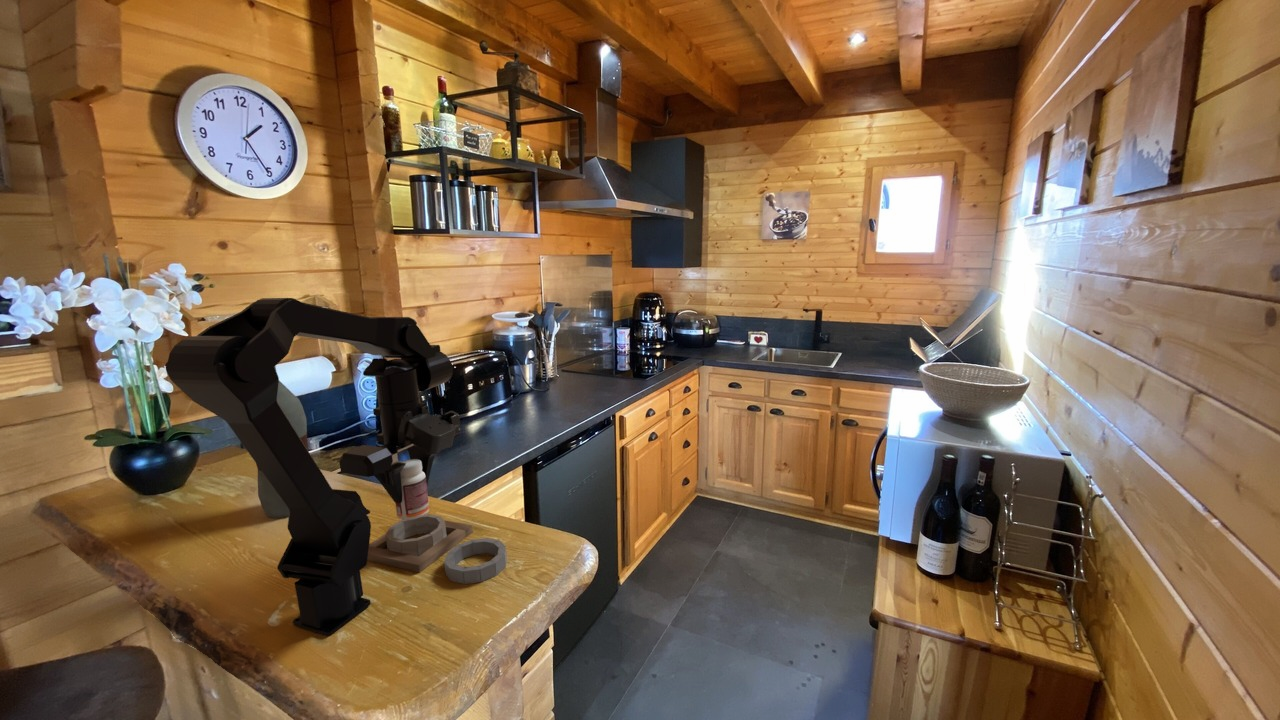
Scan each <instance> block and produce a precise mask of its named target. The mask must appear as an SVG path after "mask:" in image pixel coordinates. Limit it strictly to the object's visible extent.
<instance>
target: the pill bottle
mask: <svg viewBox="0 0 1280 720" xmlns="http://www.w3.org/2000/svg"><path fill="white" fill-rule="evenodd" d="M399 462H400V463H406V464H405V466H404V467H403V469H402V470H401V472H400V475H401V486H402V502H401V503H395V502H394V503H395V510H396V511H395V512H396V516H397V518H398V519H400V520H412V519H417V518H420V517H422V516H424V515H426V514H429V511H430V502H429V496H428V494H429V493H428V484H427V485H426V475H425V473H424V472H423V471H422V462H421V460H418V459H410V458H409V459H404V460H400V461H399Z"/></svg>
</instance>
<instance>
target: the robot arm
mask: <svg viewBox="0 0 1280 720" xmlns="http://www.w3.org/2000/svg"><path fill="white" fill-rule="evenodd" d="M296 336H297V337H298V336H299V337H303V338H304V337H305V338H311V339H317V340H325V341H331V342H337V343H338V342H339V343H344V344H349V345H351V346H353V347H354V348H355V349H356V350H358V351H361V352H363V353H366V354H369V355H371V356H381V357H382V358H376V357H375V358H374V357H373V358H372V360H371V362H370V363H369V365H367V367H365V369H364V370H363V372H362V375H363V376H364V377H374V378H375V384H376V392H377V393H376V394H377V400H378V401H377V402H378V407H374V408H373V409H372V410H373V416H377V417H380V423H381V424H380V425H381V431H382V432H380V433H378V434H376V441H377V442H378V443H379V442H380V443H383V445H381V446H375V445H365V444H362V445H360V446H358V447H355V448H353V449H350V450H347V451H345V452H343V453H342V454H341V456H340V457H339V469H340V473H341V474H347V475H355V476H360V477H366V478H367V477H375V478H376V480H377V481H378V482H379V483H380V484H381V486H382V487H383V488H384V489H385V491H386V492H387V494H388V495H389V496H390V498H391V499H392V501H393V502H394V503H401V502H402V486H401V475H400V472H401V470H402V469H403V467H404V466H405V464H406V463H400V461H399V456H398V455H399V453H402V452H403V451H406V450H407V452H408V456H409V459H418V460H421V462H422V471H423V472H424V473H425V475H426V485H427V486H428V484H429V481H430V475H431V471H432V466H433V463H434V461H435V459H436V458H435V457H436V455H437V454H439V453H440V452H441V451H444V450H446V449H447V448H448V449H449V448H451V447H452V446H453V442H454V438H457V437H458V436H460V434H461V432H462V429H461V426H462V425H461V419H460V414H459V413H458V412H456V411H454V410H450V411H447V412H444V413H443V414H442V415H440V414H437V415H431V412H430V410H429V409H430V408H429V406H428V405H427V402H421V397H420V393H421V392H425V391H427V390H430V389H432V388H435V387H438V386H440V385H442V384H445V383H447V382H449V380H451V378H452V377H453V374H454V366H453V365H454V364H453V363H452V361H451V360H450V358H449V356H447V355H446V354H445V353H444V352H442V351H441V346H440V345H439V344H430V343H429V341H428V339H427V338H426V336H425V335H424V333H423V332H422V330H421V328H419V326H418V323H417V321H416V320H415V318H412V317H410V316H370V317H369V316H365V315H361V314H356V313H352V312H347V311H343V310H339V309H333V308H328V307H325V306H319V305H316V304H311V303H307V302H306V303H305V302H302V301H300V300H299V299H296V298H293V297H268V298H267V297H265V298H263V297H262V298H260V299H257V300H255V301H254V302H251V303H250V304H249V305H248V306H245V308H244V309H242V310H241V311H239V312H238V313H236V314H233V315H231V316H228V317H227V318H225V319H222V320H221V321H219V322H217V323H214V324H213V325H210V326H209V327H207V328H205V329H204V330H202V331H201V332H199V333H198V334H197V335H195V336H194V335H193V336H189V337H186V338H183V339H181V340H180V341H178V342H177V343H176V344H174V346H173V347H172V349H171V351H170V352H169V355H168V358H167V361H166V363H165V371H166V373H167V375H168V377H169V379H170V381H171V382H172V383H173V384H174V385H176V387H177V388H179V390H180V391H182V392H183V393H184V394H185V395H186V396H187V397H188V398H189V399H190V400H192V401H193V403H196V404H197V405H199V406H200V407H202V408H204V409H205V410H207V411H208V412H211V413H212V414H214V415H216V416H217V417H219V418H220V419H222V420H224V421H225V422H226V423H227V424H228V426H229V427H230V429H231V430H232V431H233V433H234V434H235V436H236V438H237V439H238V440H239V442H241V445H242V446H243V447H244V448H245V450H246V451H247V452H248V454H249V455H250V457H251V458H252V459H253V461H254V463H255V464H257V465H258V466H259V468H260V469H261V471H262V472H263V473H264V475H265V476H266V478H267V479H268V480H269V482H270V483H271V485H272V486H273V487H274V489H275V490H276V492H277V493H278V494H279V496H280V497H281V498H282V500H283V501H284V503H285V504H286V505H287V507H288V508H289V511H290V513H289V517H288V521H287V529H288V532H289V535H290V536H291V537H290V538H291V539H290V540H289V543H288V544H287V547H286V549H285V551H284V552H283V554H282V556H281V558H280V560H279V562H278V564H277V570H278V572H279V573H280V575H281V576H282V577H283V578H284V579H294V580H295V579H296V580H297V581H295V582H294V583H293V584H294V589H295V594H296V599H297V606H298V610H299V611H298V612H299V615H298V616H297V617H296V618H294V619H293V620H292V625H293V626H295V627H299V628H301V629H306V630H307V631H311V632H315V633H318V634H321V635H324V636H330V635H332V634H333V633H335V632H336V631H338V630H339V629H340V628H342V627H343V626H344V625H345V624H347V623H348V622H349V621H351V620H352V619H354V618H355V617H356V616H357V615H359V614H360V613H361V612H362V611H364V610H365V609H366V608H369V606H370V605H372V603H371V599H369V598H365V597H363V596H364V590H363V584H362V578H361V577H362V576H361V570H362V569H363V568H365V567H366V566H367V563H368V560H367V557H368V549H369V544H370V539H371V532H372V531H371V530H372V524H371V523H372V522H371V521H370V518H369V516H368V515H369V514H370V513H371V510H370V509H367V508H366V506H365V505H364V504H363V500H362V498H361V495H360V494H359V493H358V492H357V491H356V490H346V489H337V488H336V489H335V488H332V486H331V484H330V483H329V481H328V480H327V479H326V477H325V475H324V473H323V472H322V471H321V469H320V467H319V466H318V465H317V463H316V462H315V459H314V458H313V457H312V454H311V453H310V452H309V449H308V450H307V448H306V447H305V445H304V444H303V442H302V440H301V439H300V437H299V436H298V434H297V432H296V431H295V429H294V428H293V426H292V425H291V423H290V421H289V420H288V418H287V417H286V415H285V413H284V412H283V410H282V409H281V407H280V406H279V404H278V402H277V392H278V383H279V381H280V377H279V375H278V372H277V368H276V369H275V367H276V366H277V365H278V364H279V363H280V362H281V361H283V359H285V357H287V356H288V354H289V353H290V350H291V347H292V344H293V341H294V338H295V337H296ZM257 465H256V466H257Z"/></svg>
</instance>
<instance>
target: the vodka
mask: <svg viewBox="0 0 1280 720" xmlns="http://www.w3.org/2000/svg"><path fill="white" fill-rule="evenodd" d="M275 369H276V370H277V367H276V366H275ZM277 402H278V404H279V406H280V407H281V409H282V410H283V412H284V413H285V415H286V417H287V418H288V420H289V421H290V423H291V425H292V426H293V428H294V429H295V431H296V432H297V434H298V436H299V437H300V439H301V440H302V442H303V444H304V445H305V447H306V448H307V450H308V451H309V444H308V429H307V424H308V423H307V416H306V413H305V410H304V407H303V404H302V402H301V401H300V399H299V398H298V397H297V396H296V395H295V394H294V393H293V392H292V391H291V390H290V389H289V388H288V387H287V386H285V384H283V382H281V381H280V380H279V383H278V392H277ZM255 464H256V463H255ZM256 468H257V495H258V499H259V501H260V504H261V508H262V510H263V511H264V513H265V515H266V516H267V517H268V518H272V519H282V518H289V513H290V511H289V508H288V507H287V505H286V504H285V503H284V501H283V500H282V498H281V497H280V496H279V494H278V493H277V492H276V490H275V489H274V487H273V486H272V485H271V483H270V482H269V480H268V479H267V478H266V476H265V475H264V473H263V472H262V471H261V469H260V468H259V466H258V465H257V464H256Z"/></svg>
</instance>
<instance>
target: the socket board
mask: <svg viewBox="0 0 1280 720" xmlns="http://www.w3.org/2000/svg"><path fill="white" fill-rule="evenodd" d="M473 530H474V529H473V525H471V524H466V523H461V522H455V521H450V520H444V519H443V517H442V516H440V515H436V514H430V513H427V514H425V515H424V516H422V517H420V518H417V519H412V520H402V519H400V520H399V521H397V522H396V523H394V524H392V525H390V526H389V528H388V529H387V531H386V533H385V534H383V535H382V536H380V537H378V538H377V539H375V540H374V541H372V542H369V549H368V557H367V562H372V563H376V564H377V563H378V564H381V565H386V566H390V567H395V568H398V569H403V570H408V571H411V572H415V573H421V572H423V571H425V570H426V568H428V567H429V566H430V565H432V564H433V563H434V562H436V561H437V560H439V558H441V557H443V556H444V555H445V554H447V553H448V552H449V551H450V550H452V549H453V548H454V547H456V546H457V545H459V544H460V542H462V541H463V540H465V539H466V538H467V537H469V536H470V535H471V534H472V533H473ZM423 533H424V535H422V534H423ZM416 534H417V535H422V536H420V537H415V538H410V537H413V536H416ZM407 538H408V539H407Z"/></svg>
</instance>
